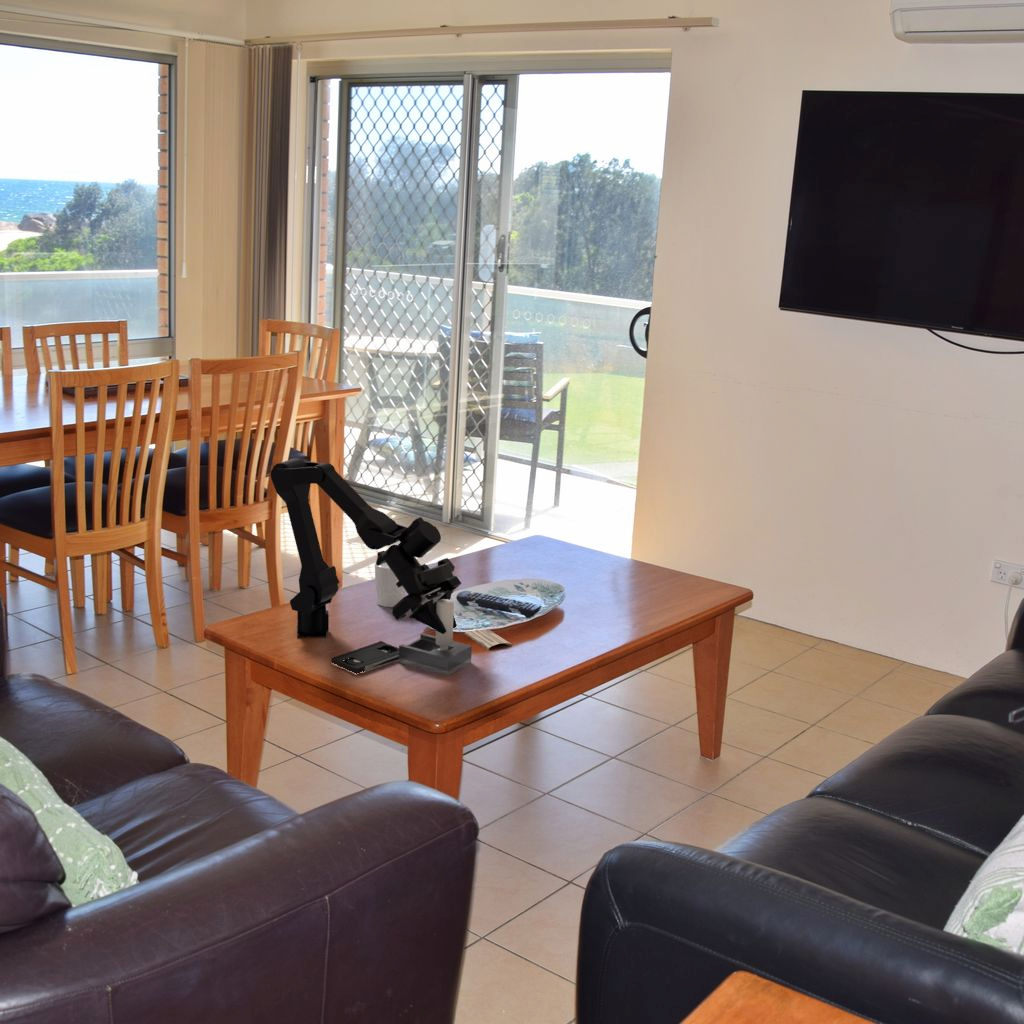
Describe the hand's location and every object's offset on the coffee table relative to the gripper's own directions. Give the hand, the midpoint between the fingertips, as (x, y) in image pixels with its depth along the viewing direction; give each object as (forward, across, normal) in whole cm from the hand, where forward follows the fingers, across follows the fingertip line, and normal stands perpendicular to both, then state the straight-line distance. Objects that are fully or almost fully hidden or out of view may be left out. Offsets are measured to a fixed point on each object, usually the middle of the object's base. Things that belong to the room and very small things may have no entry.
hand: (450, 630), depth 249 cm
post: (+4, 0, +6) cm, 7 cm away
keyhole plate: (+3, 0, +8) cm, 9 cm away
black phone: (-5, -8, +17) cm, 19 cm away
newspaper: (+2, +22, +11) cm, 24 cm away
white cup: (-18, +25, +29) cm, 42 cm away
